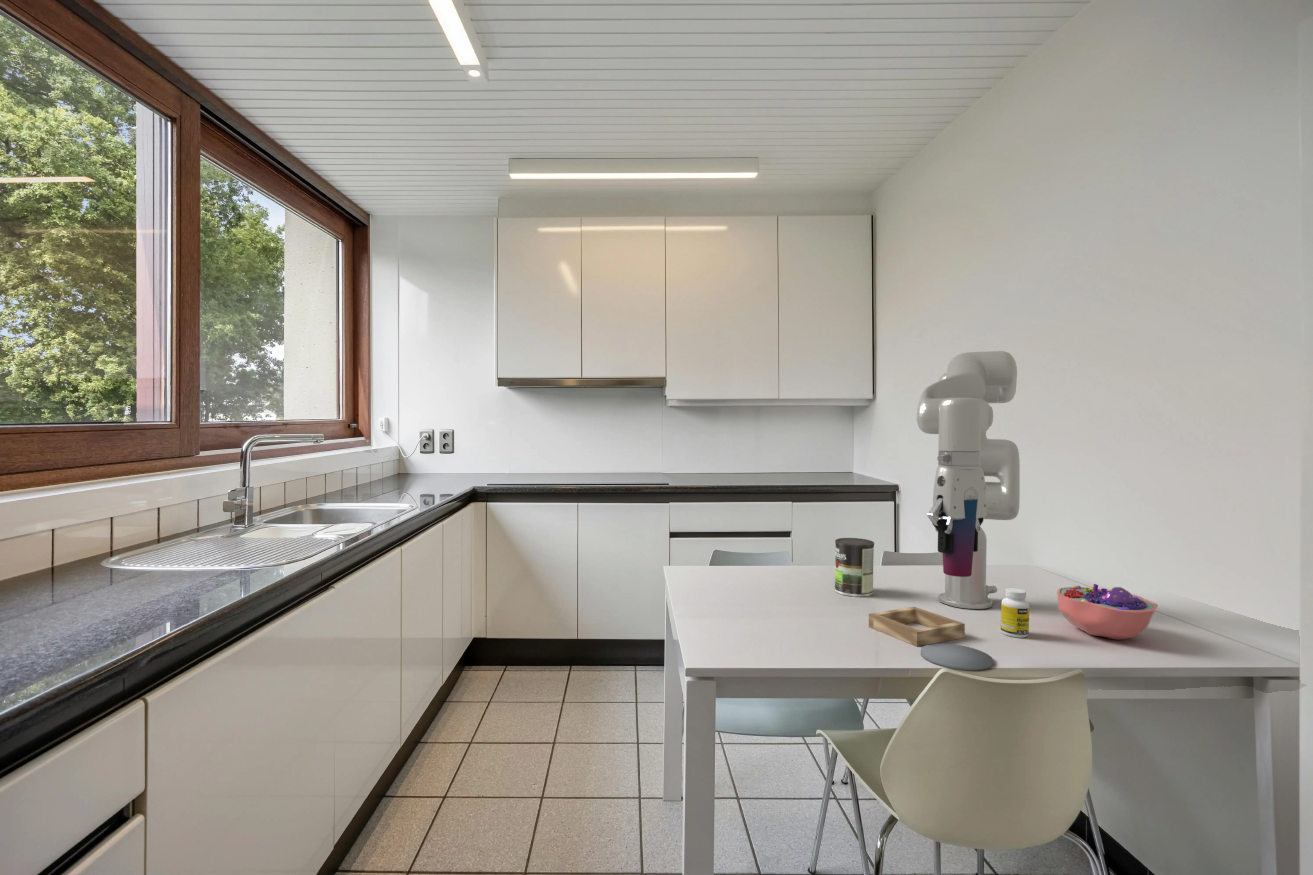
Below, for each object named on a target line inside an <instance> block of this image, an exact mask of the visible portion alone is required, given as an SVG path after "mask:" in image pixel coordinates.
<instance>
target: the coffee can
mask: <svg viewBox="0 0 1313 875" xmlns="http://www.w3.org/2000/svg"><path fill="white" fill-rule="evenodd" d="M834 543H835V560H834V561H835V563H834V564H835V565H834V569H835V570H834V572H835V573H834V591H835V593H837V594H839V595H843V596H846V597H855V598H866V597H870V596H872V595H873V596H874V558H875V557H874V556H875V555H874V553H875V552H874V551H875V550H874V548H875V542H874V540H870V539H866V538H859V537H858V538H857V537H841V538H836V539H835V540H834Z"/></svg>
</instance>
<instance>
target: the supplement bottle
mask: <svg viewBox="0 0 1313 875" xmlns="http://www.w3.org/2000/svg"><path fill="white" fill-rule="evenodd" d="M1005 596H1006V597H1004V598H1002V600H1001V610H1000V612H1001V613H1000V633H1001V634H1003V635H1005V636H1008V637H1012V638H1018V639H1021V638H1023V639H1025V638H1027V637H1028V636H1029V632H1030V628H1029V627H1030V626H1029V625H1030V603H1029V602H1028V601H1027V600H1026V599H1027V591H1026V589H1025V590H1024V589H1021V588H1015V587H1008V588H1005Z"/></svg>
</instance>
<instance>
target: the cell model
mask: <svg viewBox="0 0 1313 875" xmlns="http://www.w3.org/2000/svg"><path fill="white" fill-rule="evenodd" d="M1056 594H1057V601H1058V606H1057V608H1058V611H1059V612H1060V613H1061V614H1062V616H1064V618H1065V619H1066V621H1067V622H1069V623H1070V624H1071V625H1073V626H1074V627H1076V628H1078V629H1079V630H1082V631H1083V632H1085V633H1086V634H1089V635H1092V636H1095V637H1104V638H1107V639H1110V640H1120V641H1121V640H1127V639H1133V638H1135V637H1136V636H1138V635H1139V634H1140V633H1142V632H1143V631H1144V630H1146V629H1147V628H1148V626H1149V625H1150V624H1151V622H1152V619H1153V617H1154V616H1153V615H1154V614H1155V612H1156V610H1157V608H1158V607H1159V604H1158V603H1156V602H1154V601H1152V600H1149V599H1146V598H1144V597H1143V596H1139V595H1137V594H1132V593H1131V592H1130V591H1128V590H1126V589H1125V588H1123V587H1121V586H1115V587H1111V589H1108V588H1105V587H1103V588H1099V584H1096V583H1094V584H1093V586H1091V587H1085V586H1084V587H1082V586H1081V585H1074V586H1071V587H1070V586H1069V587H1067V586H1066V587H1060V588H1058V589H1057V591H1056Z"/></svg>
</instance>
